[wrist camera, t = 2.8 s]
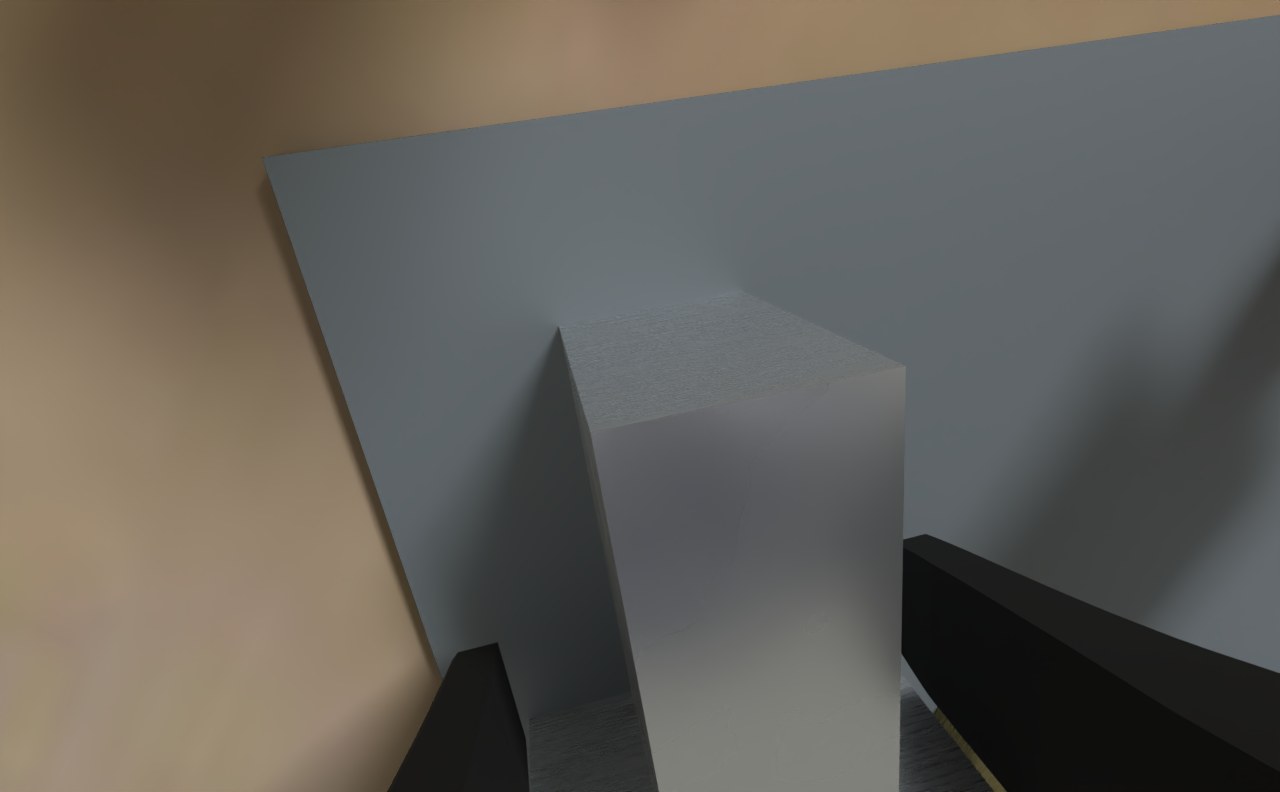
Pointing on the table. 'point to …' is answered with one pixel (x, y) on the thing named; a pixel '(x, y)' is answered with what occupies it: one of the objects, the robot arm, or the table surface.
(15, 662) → the table surface
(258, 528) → the table surface
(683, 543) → the link
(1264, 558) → the board
